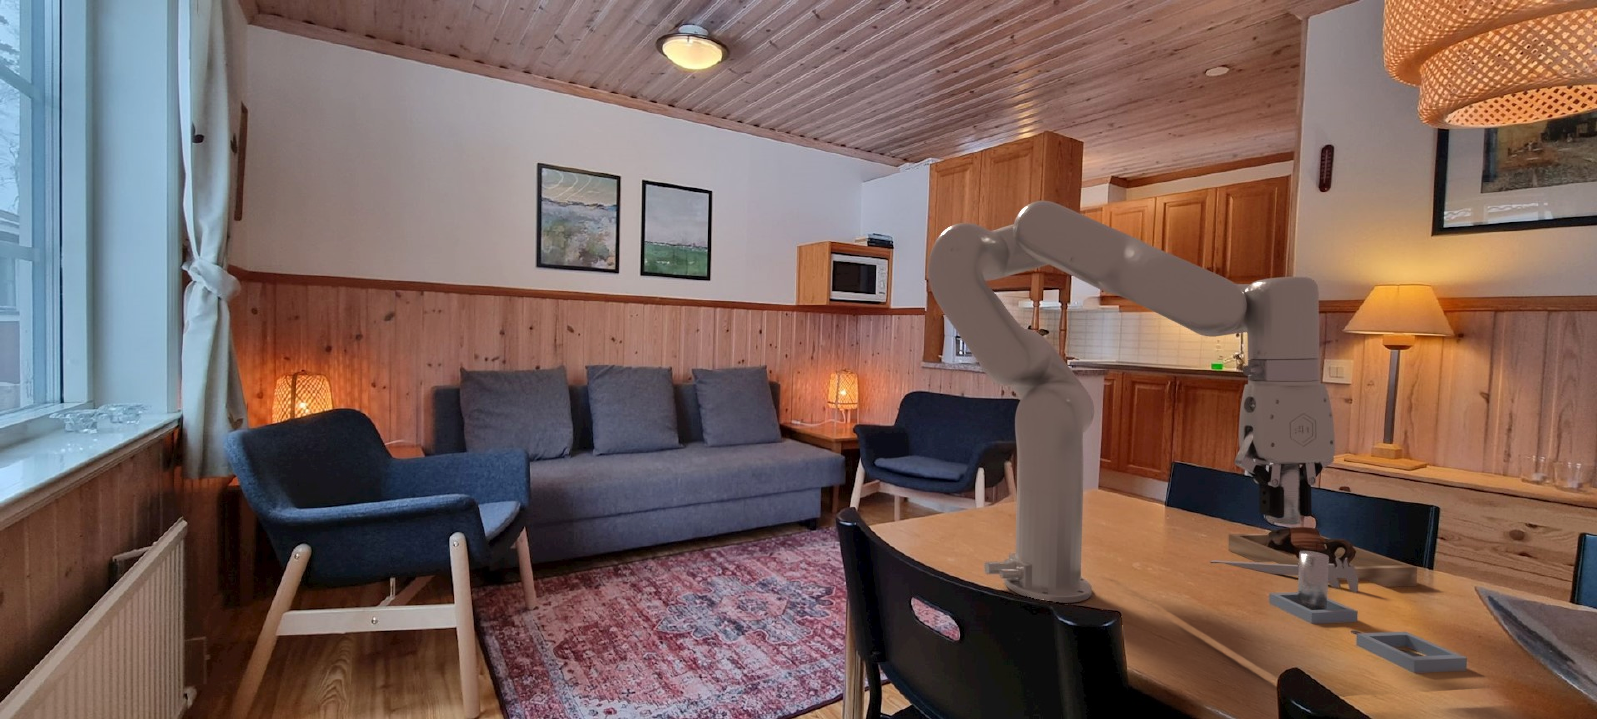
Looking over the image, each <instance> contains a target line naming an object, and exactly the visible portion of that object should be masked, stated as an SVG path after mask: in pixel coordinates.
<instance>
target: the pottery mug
mask: <svg viewBox="0 0 1597 719" xmlns="http://www.w3.org/2000/svg"><path fill="white" fill-rule="evenodd" d="M1268 533H1269V537H1270V540H1269V541H1268V544H1267V547H1270V548H1272V549H1274V550H1279V551H1280V552H1283V553H1286V554H1290V555H1295V558H1298V559H1299V552H1300V551H1313V552H1318V553H1322V554H1325V555H1327V556H1329V564H1334V565H1335V567H1337V563H1336V556H1335V552H1336V550H1337V549H1338V548H1341V547H1342V548H1344V549H1345V553H1344V554H1343V556H1342V557H1340V558H1339V560H1340V561H1341V562H1342V564H1343V563H1344V561H1345V559H1346V558H1347V559H1348V563H1350V562H1351V561H1352V560H1353V558H1354V557H1355V553H1356V550H1355V549H1354V548H1353V546H1354V545H1353V543H1351V542H1350V541H1349V540H1347V539H1344V538H1330V539H1324V538H1323V537H1321V536H1322V535H1321V533H1320V529H1318V528H1314V527H1308V526H1294V527H1283V528H1277V529H1273V530H1271V531H1269V532H1268ZM1320 535H1321V536H1320ZM1324 544H1326V546H1327V549H1326V548H1325V546H1324Z"/></svg>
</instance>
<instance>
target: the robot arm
mask: <svg viewBox="0 0 1597 719" xmlns="http://www.w3.org/2000/svg"><path fill="white" fill-rule="evenodd" d="M1046 266H1052V267H1054V268H1056V269H1057V270H1059V271H1061V272H1064V273H1066V274H1068V275H1070V276H1072V277H1075V278H1076V279H1078V280H1080V281H1082V282H1085V283H1086V284H1088V285H1090V286H1092V287H1094V288H1096V289H1099V290H1101V291H1103V292H1104V293H1107V294H1111V295H1115V296H1119V297H1120V298H1121V297H1122V298H1123V299H1126V300H1127V301H1128V300H1129V301H1131V302H1133V303H1135V304H1138V305H1139V306H1140V307H1141V306H1142V307H1143V308H1145V309H1148V310H1149V311H1152V312H1154V313H1156V314H1158V315H1160V316H1162V317H1163V318H1166V319H1168V320H1170V321H1172V322H1174V323H1176V324H1179V325H1180V326H1182V327H1183V328H1186V329H1188V330H1190V331H1191V332H1194V333H1196V334H1198V335H1201V336H1203V337H1212V338H1213V337H1222V336H1228V335H1234V334H1242V333H1243V334H1244V333H1246V334H1247V335H1246V336H1247V364H1246V365H1244V366H1243V368H1242V373H1243V375H1245V376H1247V379H1248V380H1247V381H1248V382H1247V384H1244V386H1243V387H1244V388H1243V392H1242V398H1241V404H1240V408H1239V410H1240V411H1239V419H1238V420H1239V423H1238V444H1239V445H1238V446H1239V450H1238V453H1237V455H1236V457H1235V458H1234V462H1233V463H1234V465H1235V466H1237V467H1239V468H1241V469H1243V470H1244V471H1247V472H1248V474H1249V475H1250V476H1251V477H1252V478H1253V481H1254V483H1256V484H1258V487H1259V488H1258V491H1259V492H1258V496H1259V497H1258V498H1259V501H1258V502H1259V503H1258V504H1259V512H1260V514H1261V515H1266V516H1269V517H1270V516H1272V517H1275V518H1283V517H1284V489H1283V487H1280V486H1278V485H1279V481H1280V469H1281V464H1286V463H1300V517H1301V516H1302V517H1305V518H1306V517H1312V486H1314V485H1315V484H1316V483H1317V477H1318V476H1319V474H1321V472H1322V471H1323V469H1325V468H1327V467H1328V466H1329V465H1331V464H1333V463H1334V461H1335V457H1334V456H1335V452H1336V440H1335V439H1336V437H1335V423H1334V416H1333V415H1334V414H1333V411H1332V410H1333V409H1332V405H1331V399H1330V396H1329V391H1328V390H1327V389H1328V388H1327V386H1326V384H1325V383H1321V376H1320V375H1321V369H1320V368H1321V363H1320V362H1321V361H1320V310H1319V309H1320V308H1319V307H1320V305H1319V304H1320V302H1319V299H1320V298H1319V296H1320V295H1319V293H1320V292H1319V287H1318V284H1317V282H1316V281H1315V280H1314V279H1312V278H1309V277H1307V276H1282V277H1281V276H1280V277H1271V278H1264V279H1259V280H1256V281H1253V282H1252V283H1243V284H1242V283H1235V282H1234V281H1232V280H1230V279H1228V278H1226V277H1224V276H1222V275H1220V274H1217V273H1216V272H1213V271H1210V270H1209V269H1205V268H1203V267H1202V266H1199V265H1197V264H1194V263H1192V262H1190V261H1188V260H1186V259H1183V258H1181V257H1179V256H1176V255H1174V254H1171V253H1170V252H1166V251H1165V250H1162V249H1159V248H1157V247H1154V246H1152V245H1151V244H1148V243H1147V242H1145V241H1143V240H1141V239H1139V238H1137V237H1134V236H1133V235H1130V234H1127V233H1125V232H1123V231H1120V230H1119V229H1116V228H1113V227H1111V226H1109V225H1107V224H1105V223H1102V222H1100V221H1098V220H1096V219H1093V218H1091V217H1088V216H1086V215H1084V214H1082V213H1080V212H1077V211H1075V210H1073V209H1070V208H1068V207H1066V206H1064V205H1062V204H1060V203H1056V202H1054V201H1050V200H1037V201H1034V202H1031V203H1029V204H1027V205H1025V206H1024V207H1023V208H1022V209H1021V210H1020V211H1019V212H1018V214H1017V216H1016V217H1015V219H1014V223H1013V224H1010V225H1006V226H1003V227H1000V228H998V229H994V230H990V229H988V228H986V227H984V226H981V225H978V224H976V223H972V222H959V223H956V224H953V225H951V226H949V227H947V228H946V229H944V230H943V231H942V232H941V233H940V234H939V235H938V237H937V238H936V240H935V242H934V244H933V246H932V248H931V251H930V254H929V258H928V265H927V275H928V283H929V287H930V290H931V293H932V295H933V297H934V299H935V302H936V303H937V304H938V307H939V308H940V310H941V311H942V312H943V314H944V315H945V317H946V318H947V320H948V321H949V322H950V324H951V325H952V326H953V329H955V331H956V332H957V334H958V336H959V337H960V339H961V340H962V342H963V343H964V345H965V346H966V347H967V349H968V350H969V351H970V352H971V354H972V356H973V357H974V358H975V360H976V361H977V363H978V364H979V365H980V367H981V368H982V370H983V372H984V373H985V374H986V377H988V379H990V380H991V381H992V382H993V383H995V384H996V385H1000V386H1002V387H1007V388H1009V387H1010V388H1012V389H1013V391H1014V392H1015V393H1016V395H1017V396H1018V397H1019V399H1020V401H1019V403H1017V404H1018V405H1017V407H1016V411H1015V417H1014V431H1015V442H1016V460H1017V463H1016V465H1017V466H1016V514H1015V515H1016V517H1015V518H1016V519H1015V547H1014V548H1015V549H1014V550H1015V552H1014V553H1009V554H1008V559H1007V558H1006V559H1004V560H1003V561H999V562H998V561H985V562H984V565H983V566H984V567H983V568H984V572H985V574H986V575H998V576H999V578H1000V579H1004V580H1003V581H1004V582H1003V583H1004V584H1005V586H1006V587H1007V588H1008V589H1009V590H1010V591H1012V592H1014V593H1016V594H1018V595H1020V596H1023V597H1026V596H1027V597H1026V598H1029V597H1031V598H1030V599H1032V598H1034V599H1033V600H1036V599H1044V600H1049V601H1054V602H1053V603H1056V602H1059V603H1060V604H1062V603H1063V604H1068V603H1071V604H1072V603H1079V602H1084V601H1086V600H1087V599H1090V597H1091V596H1092V594H1093V591H1092V590H1093V589H1092V585H1091V583H1090V582H1088V580H1087V579H1085V578H1083V577H1082V575H1081V574H1082V551H1083V550H1082V546H1083V545H1082V543H1083V541H1082V540H1083V513H1084V512H1083V510H1084V508H1083V506H1084V444H1083V443H1084V433H1085V432H1086V431H1087V430H1088V429H1089V427H1090V426H1091V424H1092V423H1093V420H1094V417H1095V405H1094V401H1093V399H1092V396H1091V395H1090V394H1089V391H1088V390H1087V389H1086V387H1085V386H1084V385H1083V383H1082V382H1081V381H1080V380H1079V379H1078V377H1077V376H1076V375H1075V374H1074V372H1073V371H1072V369H1071V368H1070V367H1069V365H1068V364H1067V363H1066V361H1065V360H1064V359H1063V358H1062V357H1061V356H1062V355H1060V354H1059V353H1058V351H1057V350H1056V349H1055V347H1054V346H1053V345H1052V343H1050V342H1049V341H1048V339H1047V338H1046V337H1044V336H1043V335H1042V334H1040V333H1039V332H1037V331H1035V330H1033V329H1028V328H1024V327H1023V326H1022V325H1021V324H1020V323H1019V322H1018V321H1017V320H1016V318H1015V317H1014V316H1013V315H1012V314H1011V312H1010V311H1009V310H1008V309H1007V307H1006V306H1005V304H1004V303H1003V300H1002V299H1001V298H999V296H998V295H997V294H996V293H995V291H993V289H992V288H991V287H990V286H989V284H988V283H987V282H988V281H993V280H999V279H1003V278H1006V277H1010V276H1013V275H1016V274H1021V273H1024V272H1027V271H1028V272H1029V271H1031V270H1035V269H1039V268H1042V267H1046ZM1267 466H1268V469H1267Z"/></svg>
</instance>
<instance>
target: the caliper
mask: <svg viewBox="0 0 1597 719" xmlns="http://www.w3.org/2000/svg"><path fill="white" fill-rule="evenodd" d="M1336 563H1337V567H1335V565H1334V564H1329V567H1328V585H1330V588H1331V587H1332V588H1335V589H1338V590H1339V589H1341V583H1340V580H1338V578H1347V580H1346V581H1347V585H1348V587H1349V588H1348V589H1349V591H1350V592H1354V593H1358V592H1359V580H1358V576H1357V573H1356V570H1355V567H1356V566H1354V565H1351V564H1349V563H1348V559H1347V558H1346V559H1345V561H1344V563H1343V564H1342V562H1341V561H1340V560H1339V558H1337V557H1336ZM1209 564H1226V565H1229V566H1233V567H1238V568H1243V569H1248V570H1253V571H1258V572H1261V573H1267V574H1272V575H1283V576H1284V575H1285V576H1299V563H1298V565H1289V564H1278V563H1271V562H1254V561H1253V562H1252V561H1251V562H1250V561H1236V560H1235V561H1229V560H1213V559H1212V560H1210V563H1209Z"/></svg>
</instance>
